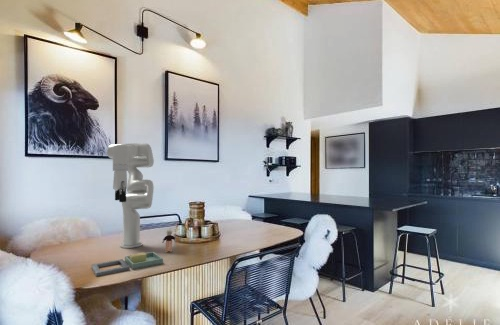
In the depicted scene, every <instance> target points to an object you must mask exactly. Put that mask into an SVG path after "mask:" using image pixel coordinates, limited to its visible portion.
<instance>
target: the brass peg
mask: <svg viewBox="0 0 500 325" xmlns="http://www.w3.org/2000/svg"><path fill="white" fill-rule="evenodd" d="M145 253H146V252H139V253H132V254H129V256H130V260H131V261H132V262H133V263H139V262H144V261H146V254H145Z"/></svg>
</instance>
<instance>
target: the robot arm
mask: <svg viewBox="0 0 500 325" xmlns="http://www.w3.org/2000/svg"><path fill="white" fill-rule="evenodd" d="M106 155H107V157H108V158H109V159H110V160H112V172H113V180H112V181H113V182H112V183H113V184H112V189H113V190H114V192H115V193H114V200H115V201H119V203H121V207H122V214H123V215H122V217H123V218H122V242H121V243H120V244H119V246H120V248H122V249H133V248H134V249H135V248H139V247H141V246H143V242H142V241H141V235H140V234H141V216H140V214H139V212H138V211H137V210H148V209H150V208H151V207H152V205H153V198H154V188H155V187H154V183H153V181H152V180H151V179H143V178H144V175H143V173H142V172H141V171H140V170H139V169H138V168H151V167H153V166H154V161H155V160H154V157H153V156H154V155H153V150H152V147H151V145H150V144H149V143H146V142H143V143H141V142H131V143H119V144H118V143H116V144H110V145H108V147H107V149H106Z"/></svg>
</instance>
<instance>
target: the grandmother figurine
mask: <svg viewBox="0 0 500 325" xmlns="http://www.w3.org/2000/svg"><path fill="white" fill-rule="evenodd" d="M172 234H173V230H172V229H166V236H164V238H163V239H162V241H161V243H162V244H165V246H164V247H165V248H164V253H166V252H167V253H172V251H173V242H177V239H176V237H175V236H173V235H172Z"/></svg>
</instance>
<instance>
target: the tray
mask: <svg viewBox="0 0 500 325" xmlns="http://www.w3.org/2000/svg"><path fill="white" fill-rule="evenodd" d="M144 253H145V254H146V261H144V262H139V263H133V262H132V261H131V260H130V255H128V256H127V255H126V256H124V261H125V262H126V263H127V264H128V265H129V267H130V269H131V270H132V271H133V270H137V269H143V268H147V267H152V266H157V265H158V266H159V265H162V264H164V258H163V257H162V256H161V255H159V254H157V253H156V252H154V251H150V252H144Z"/></svg>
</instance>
